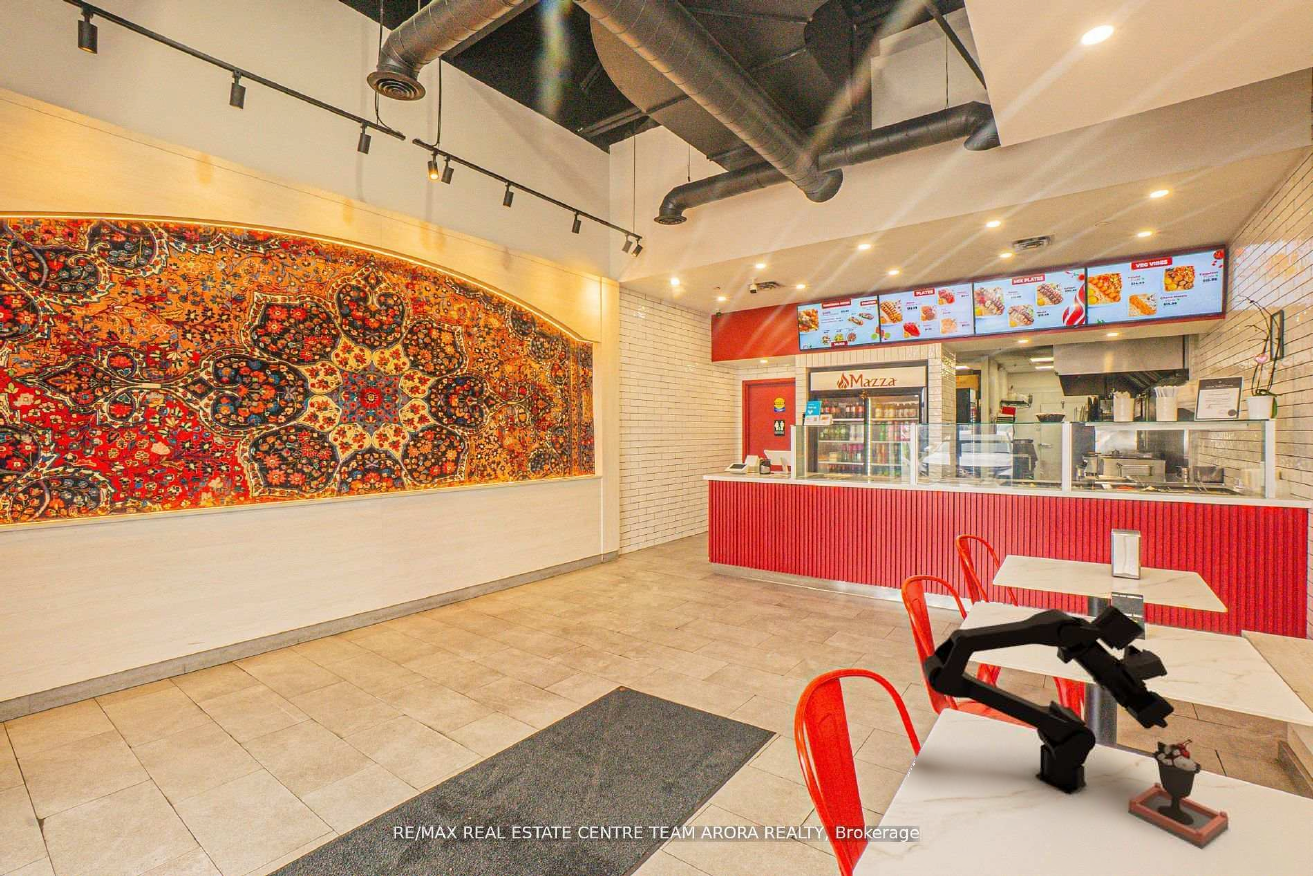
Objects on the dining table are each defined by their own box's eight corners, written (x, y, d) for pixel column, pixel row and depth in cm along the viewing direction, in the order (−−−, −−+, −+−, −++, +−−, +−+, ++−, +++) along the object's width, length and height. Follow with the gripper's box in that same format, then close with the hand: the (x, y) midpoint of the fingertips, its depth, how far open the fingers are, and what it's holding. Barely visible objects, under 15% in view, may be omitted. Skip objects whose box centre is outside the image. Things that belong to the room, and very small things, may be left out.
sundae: (1205, 833, 102) (1207, 748, 102) (1156, 820, 106) (1157, 738, 105) (1194, 811, 108) (1196, 731, 108) (1148, 799, 112) (1149, 722, 111)
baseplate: (1128, 812, 109) (1128, 798, 109) (1155, 794, 114) (1155, 781, 114) (1202, 848, 100) (1202, 833, 100) (1228, 827, 105) (1228, 813, 105)
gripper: (1161, 657, 106) (1235, 725, 103) (1110, 622, 124) (1171, 679, 121) (1110, 695, 108) (1180, 762, 105) (1067, 655, 126) (1126, 712, 123)
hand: (1165, 726), depth 114 cm, fingers closed
